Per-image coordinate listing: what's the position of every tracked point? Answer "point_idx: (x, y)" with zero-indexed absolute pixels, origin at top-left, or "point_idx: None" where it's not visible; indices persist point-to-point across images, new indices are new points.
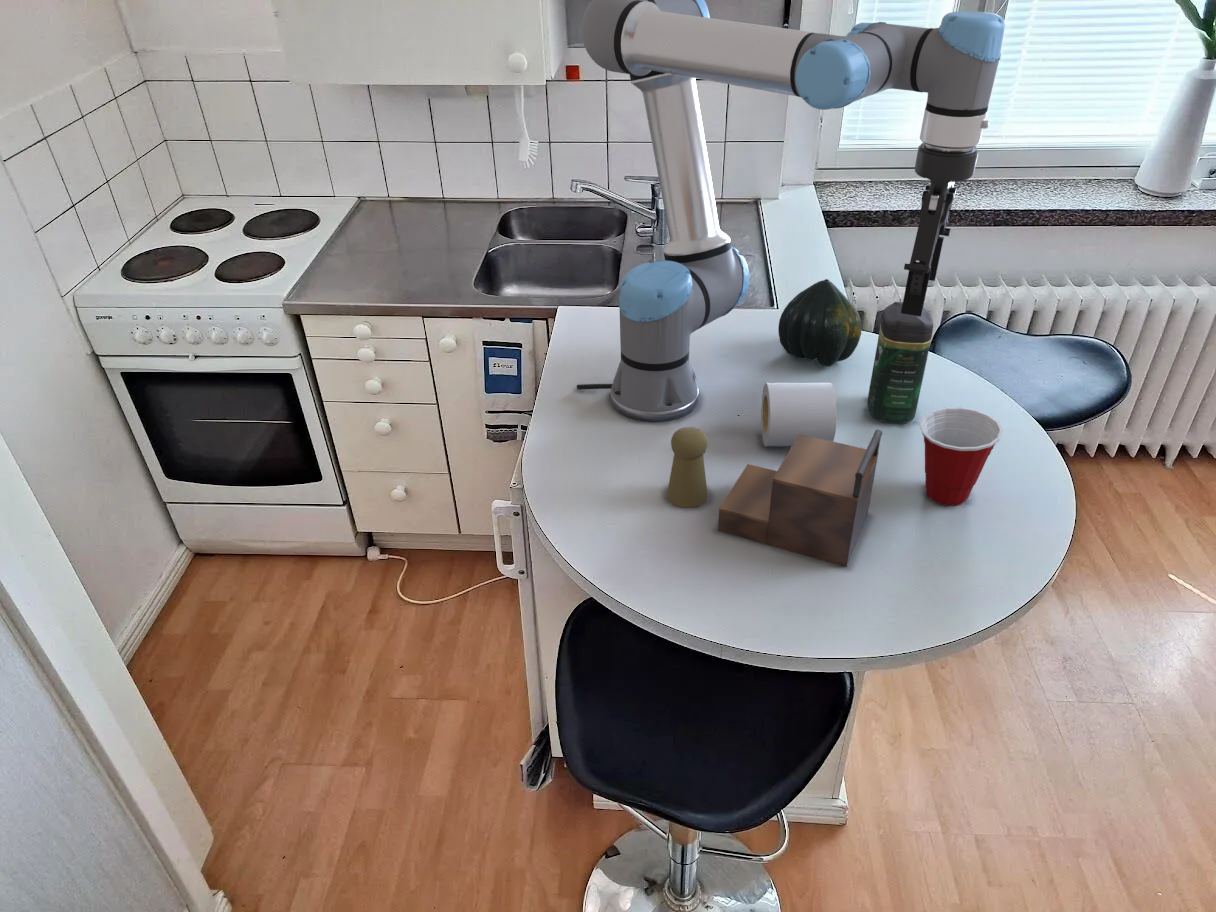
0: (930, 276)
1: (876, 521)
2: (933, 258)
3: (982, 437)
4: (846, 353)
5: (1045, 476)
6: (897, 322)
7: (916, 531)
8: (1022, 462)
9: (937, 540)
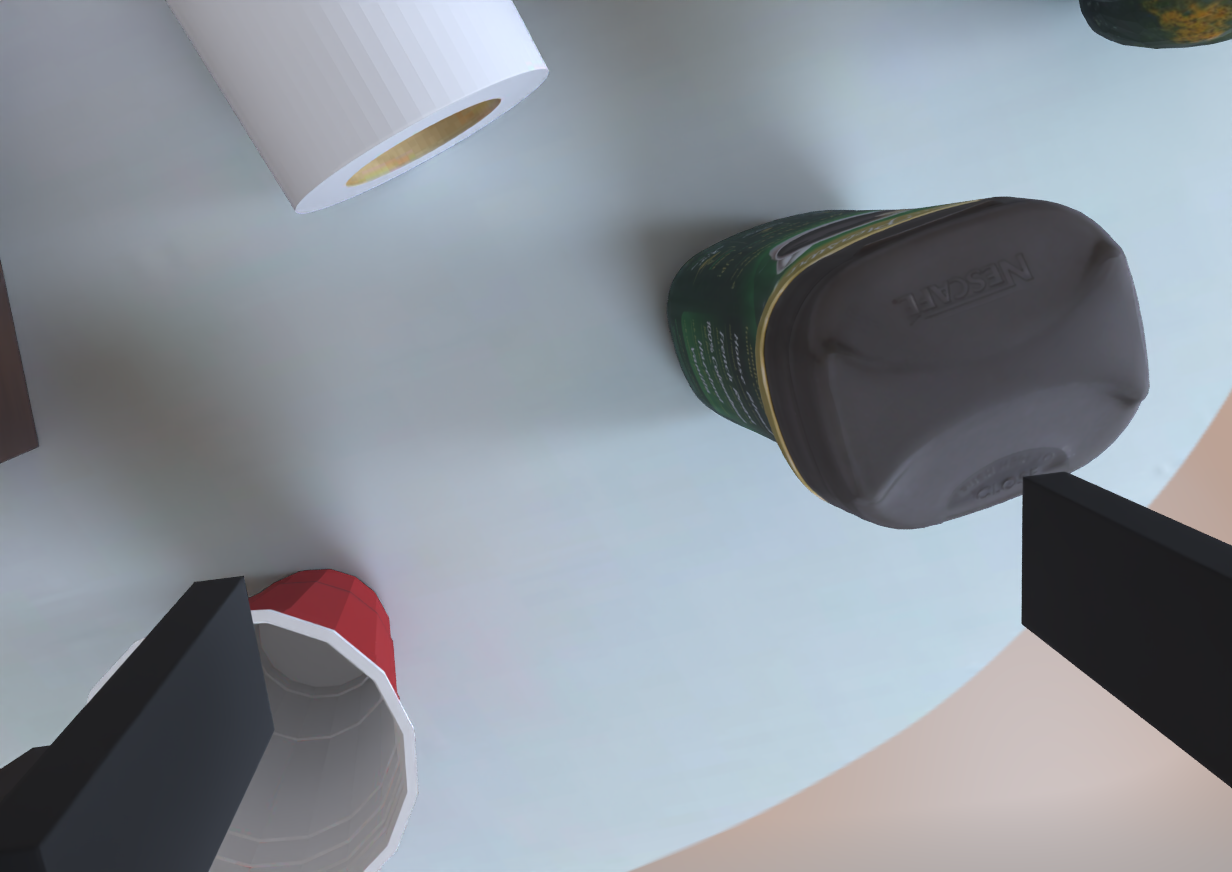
0: (1042, 600)
1: (34, 480)
2: (1151, 676)
3: (371, 796)
4: (1093, 18)
5: (591, 847)
6: (819, 351)
7: (61, 604)
8: (640, 776)
9: (55, 670)
